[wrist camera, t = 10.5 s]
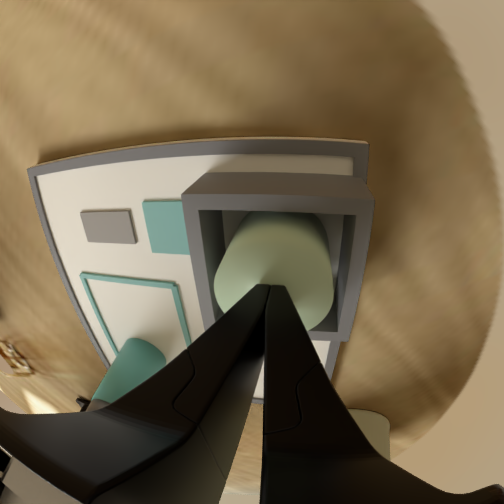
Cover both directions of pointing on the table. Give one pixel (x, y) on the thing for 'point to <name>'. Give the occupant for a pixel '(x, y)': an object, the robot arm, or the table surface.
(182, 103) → the table surface
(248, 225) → the key
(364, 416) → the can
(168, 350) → the activity board
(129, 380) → the teal cylinder
